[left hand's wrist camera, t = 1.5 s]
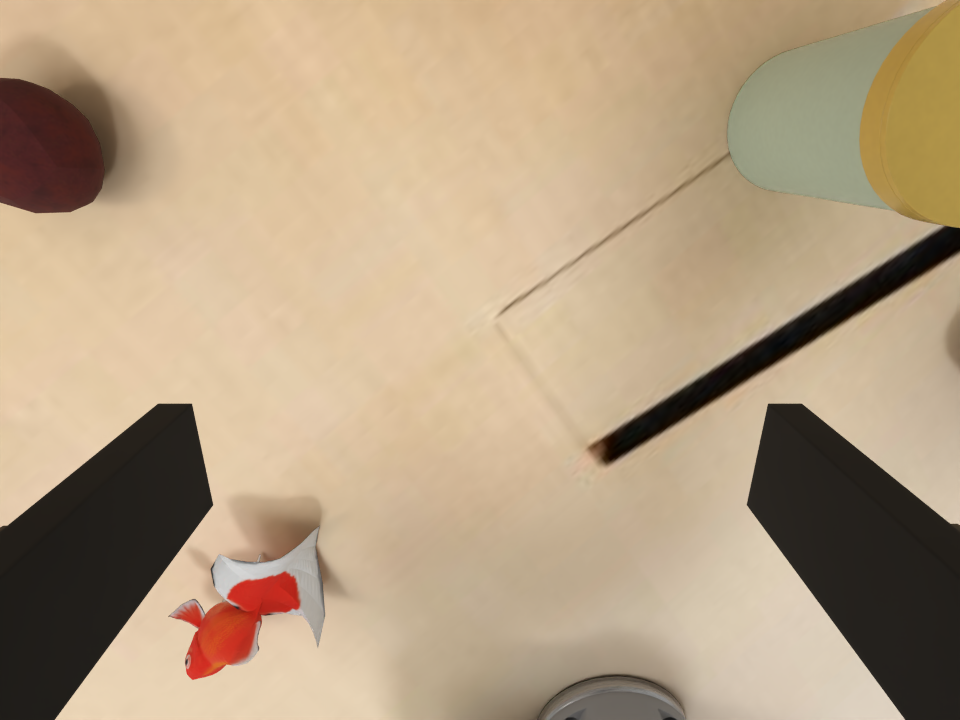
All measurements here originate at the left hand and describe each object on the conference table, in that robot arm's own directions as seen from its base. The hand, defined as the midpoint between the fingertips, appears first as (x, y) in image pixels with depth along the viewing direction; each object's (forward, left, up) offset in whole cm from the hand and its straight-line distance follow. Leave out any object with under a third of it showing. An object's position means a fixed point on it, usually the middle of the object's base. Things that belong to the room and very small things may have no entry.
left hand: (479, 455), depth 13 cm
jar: (+8, -20, -28) cm, 36 cm away
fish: (-28, +19, -28) cm, 44 cm away
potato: (+6, +27, -28) cm, 39 cm away
